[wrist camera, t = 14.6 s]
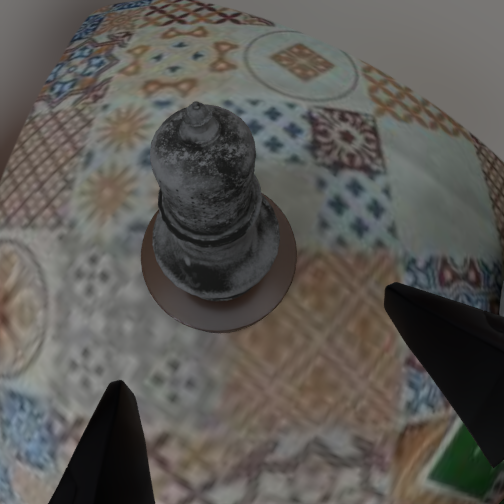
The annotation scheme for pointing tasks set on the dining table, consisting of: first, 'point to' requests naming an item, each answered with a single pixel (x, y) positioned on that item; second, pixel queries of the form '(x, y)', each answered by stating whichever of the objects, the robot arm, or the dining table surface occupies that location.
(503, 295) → the cereal bowl
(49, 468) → the dining table surface
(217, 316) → the walnut puck
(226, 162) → the grey stone chess piece
